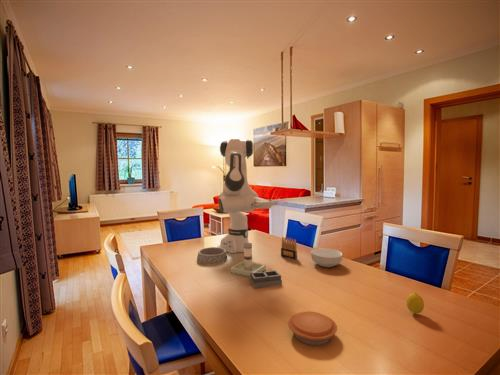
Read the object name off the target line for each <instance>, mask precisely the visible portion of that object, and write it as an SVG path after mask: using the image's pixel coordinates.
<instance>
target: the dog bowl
mask: <svg viewBox="0 0 500 375" xmlns="http://www.w3.org/2000/svg"><path fill="white" fill-rule="evenodd" d="M196 256H197V257H196V262H197V263H198V262H199V264H200V265H201V264H202V265H218V264H219V265H220V264H223V263H225V262H226V258H228V254H227V252H226V251H225V249H223V248H218V246H216V247H215V246H214V247H213V246H211V247H209V246H208V247H205V248H202V249H200V250H198V253H197V255H196Z"/></svg>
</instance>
